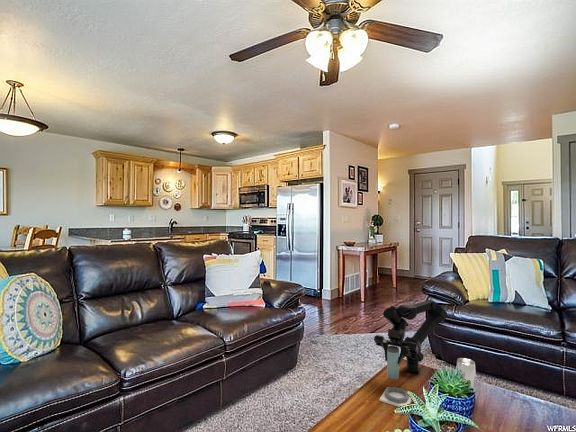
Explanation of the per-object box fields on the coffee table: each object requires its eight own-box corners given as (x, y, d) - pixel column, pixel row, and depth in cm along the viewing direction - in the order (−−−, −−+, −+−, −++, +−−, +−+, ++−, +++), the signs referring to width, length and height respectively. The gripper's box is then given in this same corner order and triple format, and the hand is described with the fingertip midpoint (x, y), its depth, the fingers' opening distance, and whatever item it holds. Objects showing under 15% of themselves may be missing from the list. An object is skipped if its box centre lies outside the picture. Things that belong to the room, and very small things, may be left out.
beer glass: (462, 390, 141) (462, 356, 141) (478, 398, 135) (478, 362, 135) (453, 395, 137) (453, 360, 137) (469, 403, 131) (469, 366, 131)
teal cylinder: (388, 372, 148) (388, 345, 148) (400, 375, 145) (400, 347, 145) (385, 376, 144) (385, 348, 144) (397, 380, 141) (397, 351, 141)
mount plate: (387, 388, 143) (387, 383, 143) (413, 396, 137) (413, 390, 137) (379, 400, 133) (379, 395, 133) (407, 409, 127) (407, 403, 127)
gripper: (375, 317, 153) (367, 349, 144) (416, 325, 143) (411, 359, 134) (380, 329, 160) (373, 360, 150) (420, 337, 149) (415, 370, 140)
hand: (392, 362), depth 143 cm, fingers closed on teal cylinder, 5 cm apart
